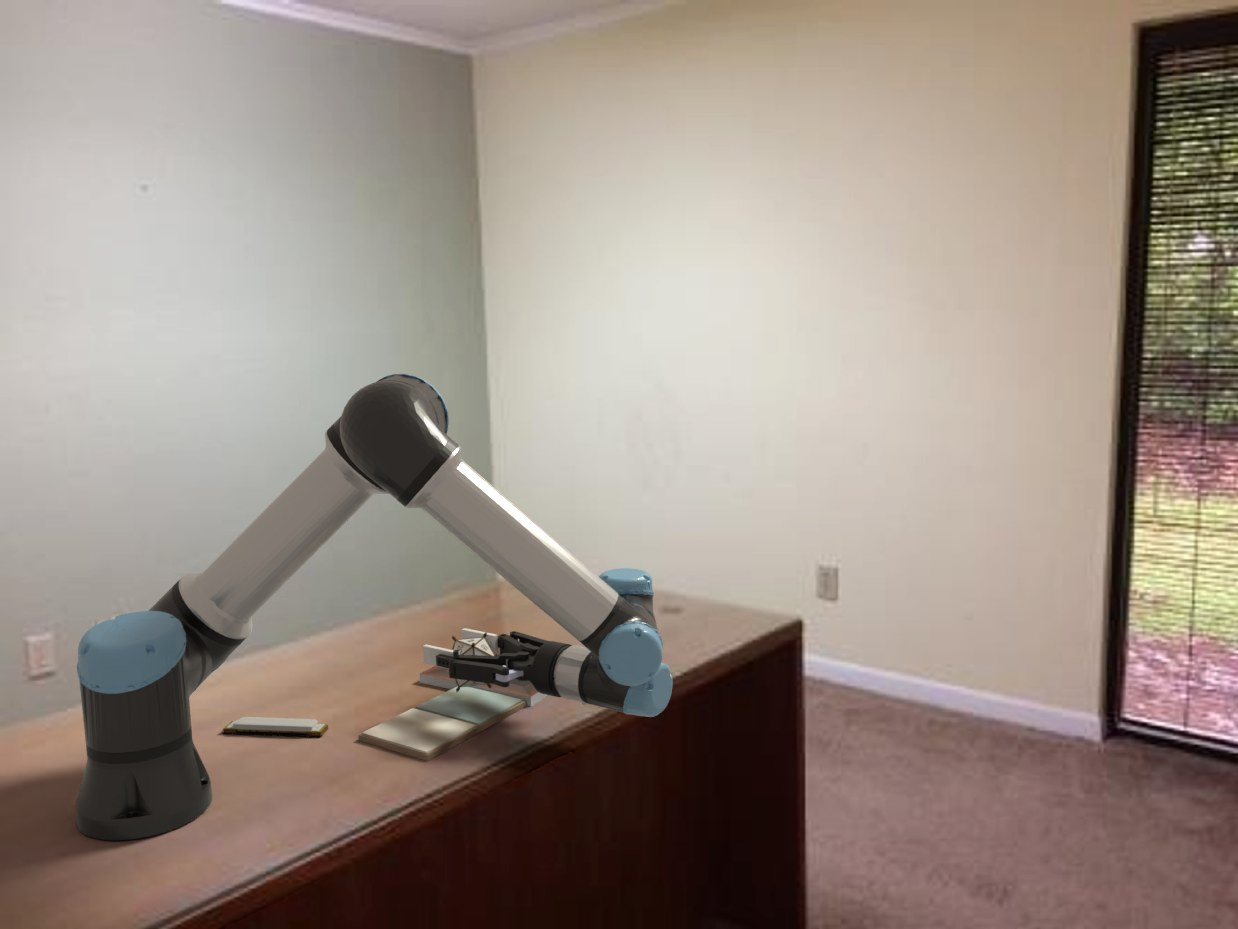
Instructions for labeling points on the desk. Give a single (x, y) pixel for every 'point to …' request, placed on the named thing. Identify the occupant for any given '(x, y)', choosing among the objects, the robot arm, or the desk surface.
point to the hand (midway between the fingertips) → (444, 645)
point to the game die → (472, 648)
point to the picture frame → (515, 688)
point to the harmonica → (276, 727)
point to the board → (442, 722)
